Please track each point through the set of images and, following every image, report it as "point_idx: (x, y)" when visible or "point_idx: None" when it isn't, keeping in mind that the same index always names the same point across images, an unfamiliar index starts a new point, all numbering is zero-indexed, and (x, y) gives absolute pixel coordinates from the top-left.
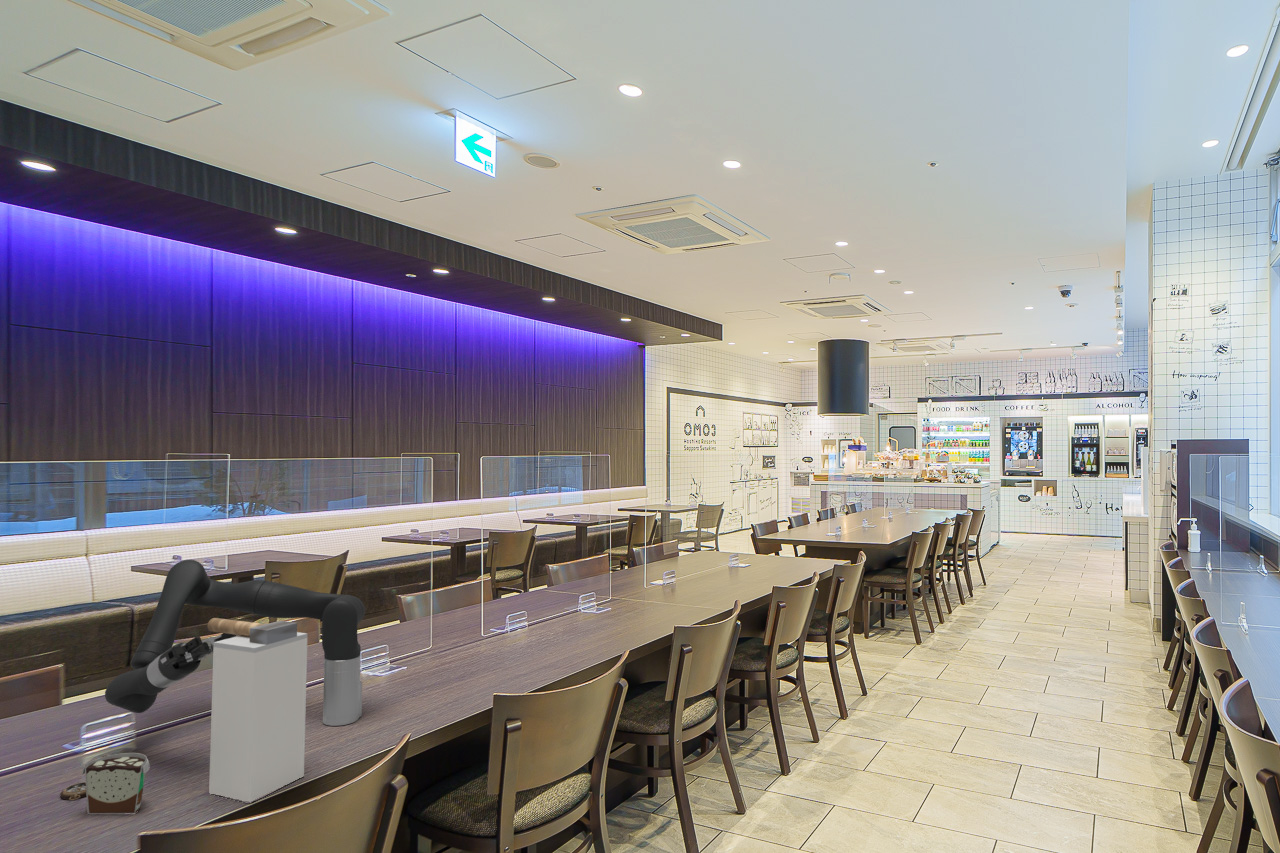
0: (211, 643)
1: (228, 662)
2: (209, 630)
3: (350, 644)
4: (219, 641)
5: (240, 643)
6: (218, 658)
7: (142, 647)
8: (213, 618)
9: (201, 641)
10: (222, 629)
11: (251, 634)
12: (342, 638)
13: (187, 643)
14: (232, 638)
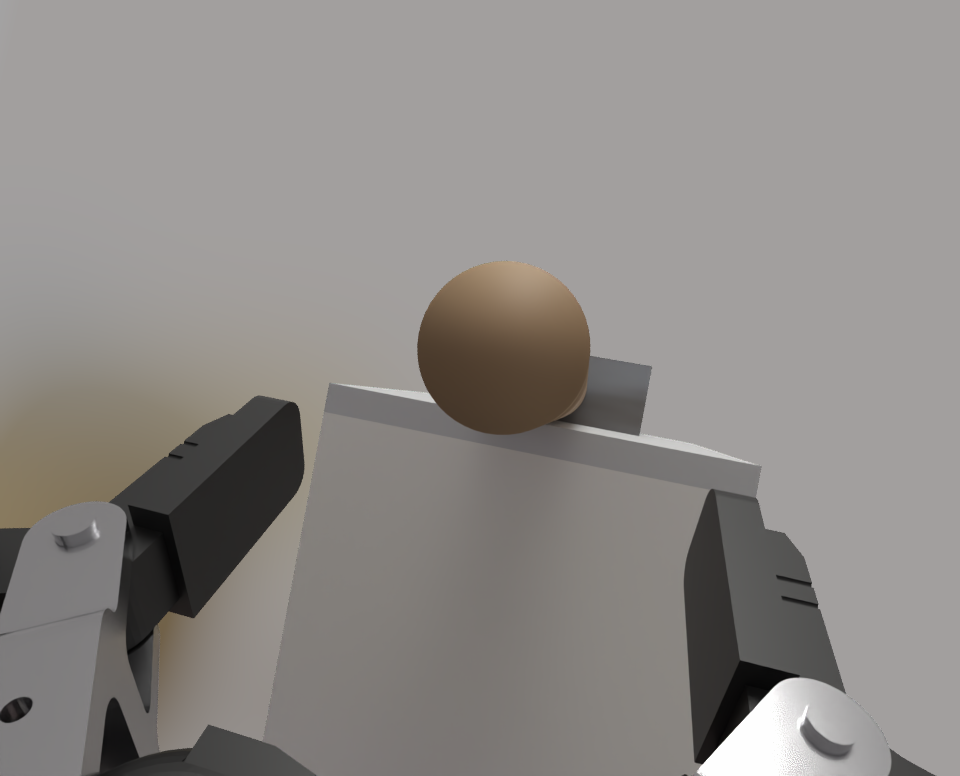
0: (127, 727)
1: None
2: (548, 421)
3: None
4: (724, 458)
5: (677, 444)
6: None
7: None
8: (534, 269)
9: (694, 540)
10: (583, 390)
11: (644, 396)
12: None
13: (826, 631)
14: (626, 439)
